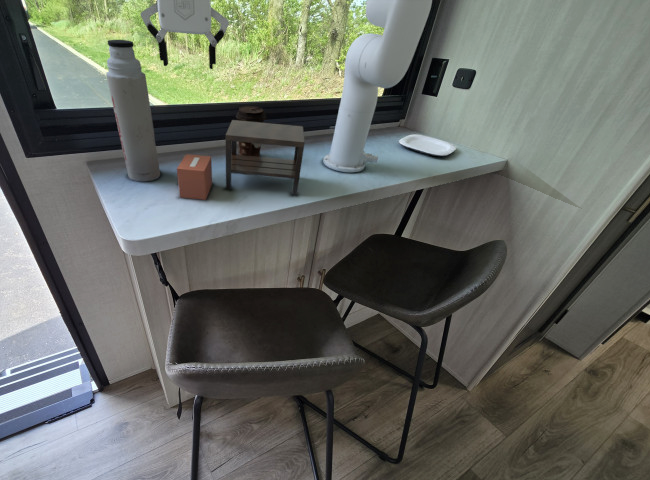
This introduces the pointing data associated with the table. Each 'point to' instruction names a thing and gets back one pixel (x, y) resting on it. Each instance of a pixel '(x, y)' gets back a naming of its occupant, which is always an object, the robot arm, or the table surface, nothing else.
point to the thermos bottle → (132, 111)
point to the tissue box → (195, 176)
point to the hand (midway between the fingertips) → (188, 66)
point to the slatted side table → (264, 165)
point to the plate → (427, 145)
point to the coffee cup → (252, 116)
